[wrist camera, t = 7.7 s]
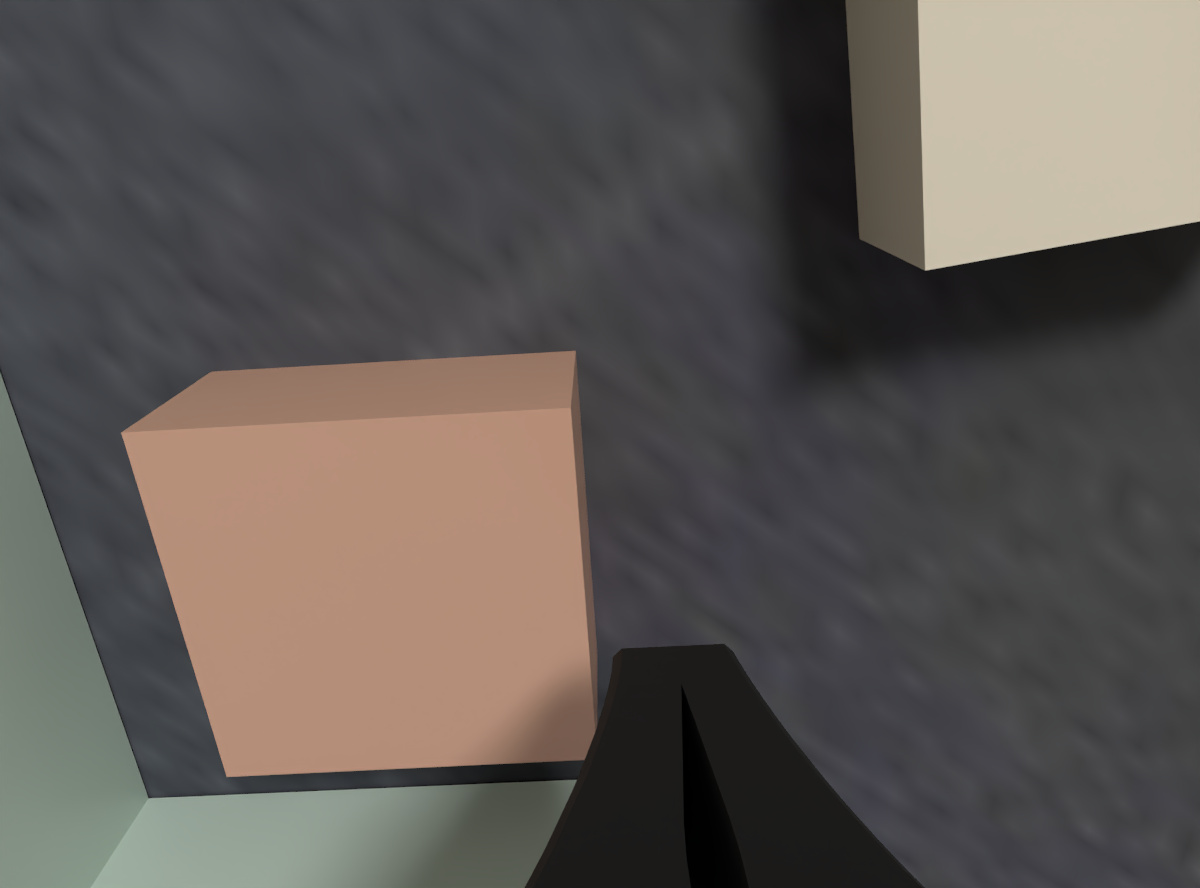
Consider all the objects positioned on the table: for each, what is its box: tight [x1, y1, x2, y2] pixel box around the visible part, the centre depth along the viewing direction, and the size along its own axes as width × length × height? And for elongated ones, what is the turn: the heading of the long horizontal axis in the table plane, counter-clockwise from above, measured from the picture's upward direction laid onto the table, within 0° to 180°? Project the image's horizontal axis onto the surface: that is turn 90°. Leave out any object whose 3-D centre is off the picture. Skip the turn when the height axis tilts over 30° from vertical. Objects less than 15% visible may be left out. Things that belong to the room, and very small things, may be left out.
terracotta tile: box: [121, 351, 597, 777], centre depth 13 cm, size 6×6×3 cm
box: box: [0, 373, 577, 888], centre depth 11 cm, size 22×12×4 cm, turn 3°
